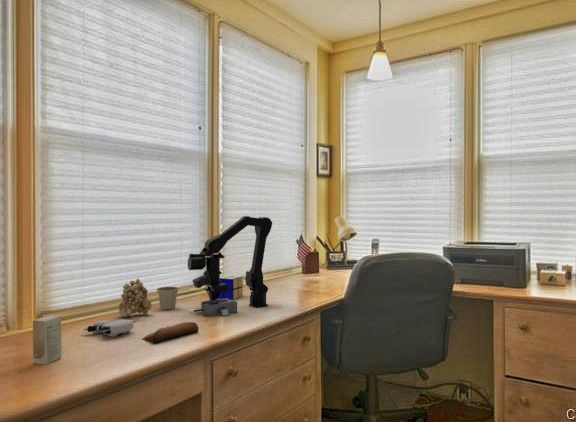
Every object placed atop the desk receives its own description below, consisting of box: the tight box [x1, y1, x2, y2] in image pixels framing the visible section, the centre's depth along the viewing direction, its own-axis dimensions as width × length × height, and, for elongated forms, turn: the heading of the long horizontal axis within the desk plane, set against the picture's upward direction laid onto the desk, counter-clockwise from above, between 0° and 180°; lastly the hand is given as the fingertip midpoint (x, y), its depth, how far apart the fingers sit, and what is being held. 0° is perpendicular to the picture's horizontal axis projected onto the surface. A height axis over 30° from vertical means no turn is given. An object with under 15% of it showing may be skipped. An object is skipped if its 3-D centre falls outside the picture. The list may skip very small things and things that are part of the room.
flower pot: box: [156, 286, 180, 311], centre depth 194 cm, size 9×9×9 cm
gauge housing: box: [187, 299, 238, 317], centre depth 188 cm, size 16×14×4 cm
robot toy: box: [83, 319, 140, 338], centre depth 155 cm, size 12×4×15 cm
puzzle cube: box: [218, 275, 244, 301], centre depth 219 cm, size 10×10×10 cm
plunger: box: [193, 298, 230, 317], centre depth 184 cm, size 16×10×4 cm
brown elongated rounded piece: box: [141, 321, 199, 345], centre depth 152 cm, size 18×7×7 cm
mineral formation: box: [118, 278, 153, 318], centre depth 181 cm, size 8×13×15 cm, turn 140°
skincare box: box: [32, 314, 63, 366], centre depth 127 cm, size 6×4×12 cm
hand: (212, 305), depth 191 cm, fingers closed
